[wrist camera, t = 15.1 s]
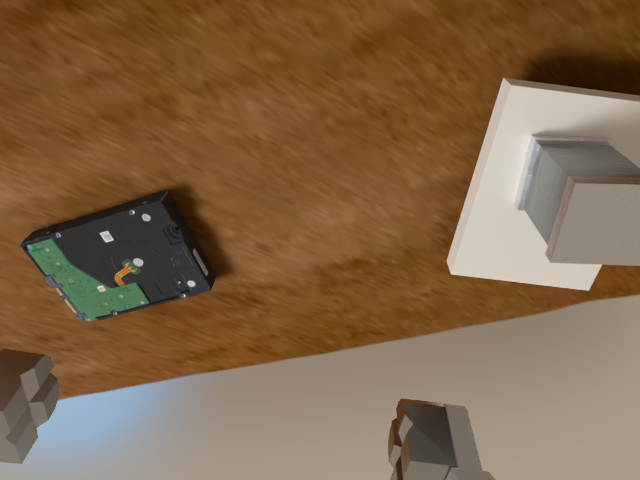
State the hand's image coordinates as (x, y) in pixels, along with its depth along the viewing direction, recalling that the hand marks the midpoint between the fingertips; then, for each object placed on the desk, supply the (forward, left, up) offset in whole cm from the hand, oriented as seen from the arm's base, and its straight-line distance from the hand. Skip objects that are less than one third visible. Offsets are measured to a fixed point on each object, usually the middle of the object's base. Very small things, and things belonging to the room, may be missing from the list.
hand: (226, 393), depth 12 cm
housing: (+4, +19, -27) cm, 33 cm away
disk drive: (+19, -16, -31) cm, 40 cm away
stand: (+6, +20, -31) cm, 37 cm away
